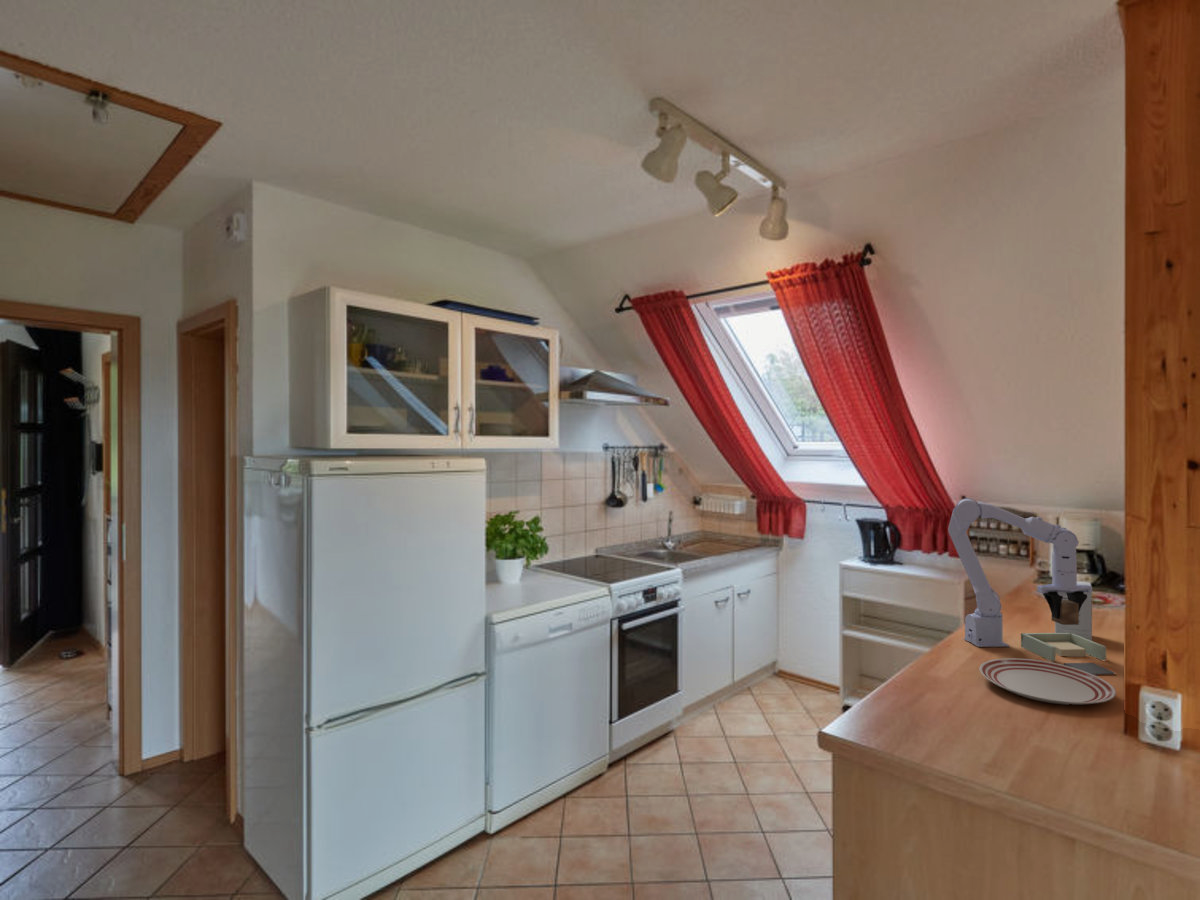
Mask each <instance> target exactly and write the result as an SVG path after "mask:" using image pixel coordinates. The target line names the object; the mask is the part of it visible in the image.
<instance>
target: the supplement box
mask: <svg viewBox="0 0 1200 900" xmlns="http://www.w3.org/2000/svg"><path fill="white" fill-rule="evenodd" d="M1077 585H1089V586H1092V583H1091V582H1088V581H1080V580H1079V581H1078V580H1077ZM1058 594H1059V595H1060V596H1063V598H1062V600H1068V597H1067V594H1066V593H1058ZM1084 594H1087V599H1086V600H1085V601H1084V603H1083V604H1082V606H1081V608H1080V611H1079V625H1062V624H1059V623H1057V622H1054V633H1073V634H1076V635H1078V636H1081V637H1083V638H1086V639H1088V640H1091V641H1093V621H1092V620H1093V597H1092V596H1093V595H1092V594H1093V592H1092V593H1087V592H1084Z"/></svg>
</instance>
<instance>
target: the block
mask: <svg viewBox="0 0 1200 900" xmlns="http://www.w3.org/2000/svg"><path fill="white" fill-rule="evenodd" d="M1051 621H1052V622H1054V623H1055V622H1057V623H1059V624H1062V625H1079V604H1078V603H1075V602H1072V601H1069V600H1062V601H1061V606H1060V618H1055V617H1052V616H1051Z"/></svg>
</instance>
